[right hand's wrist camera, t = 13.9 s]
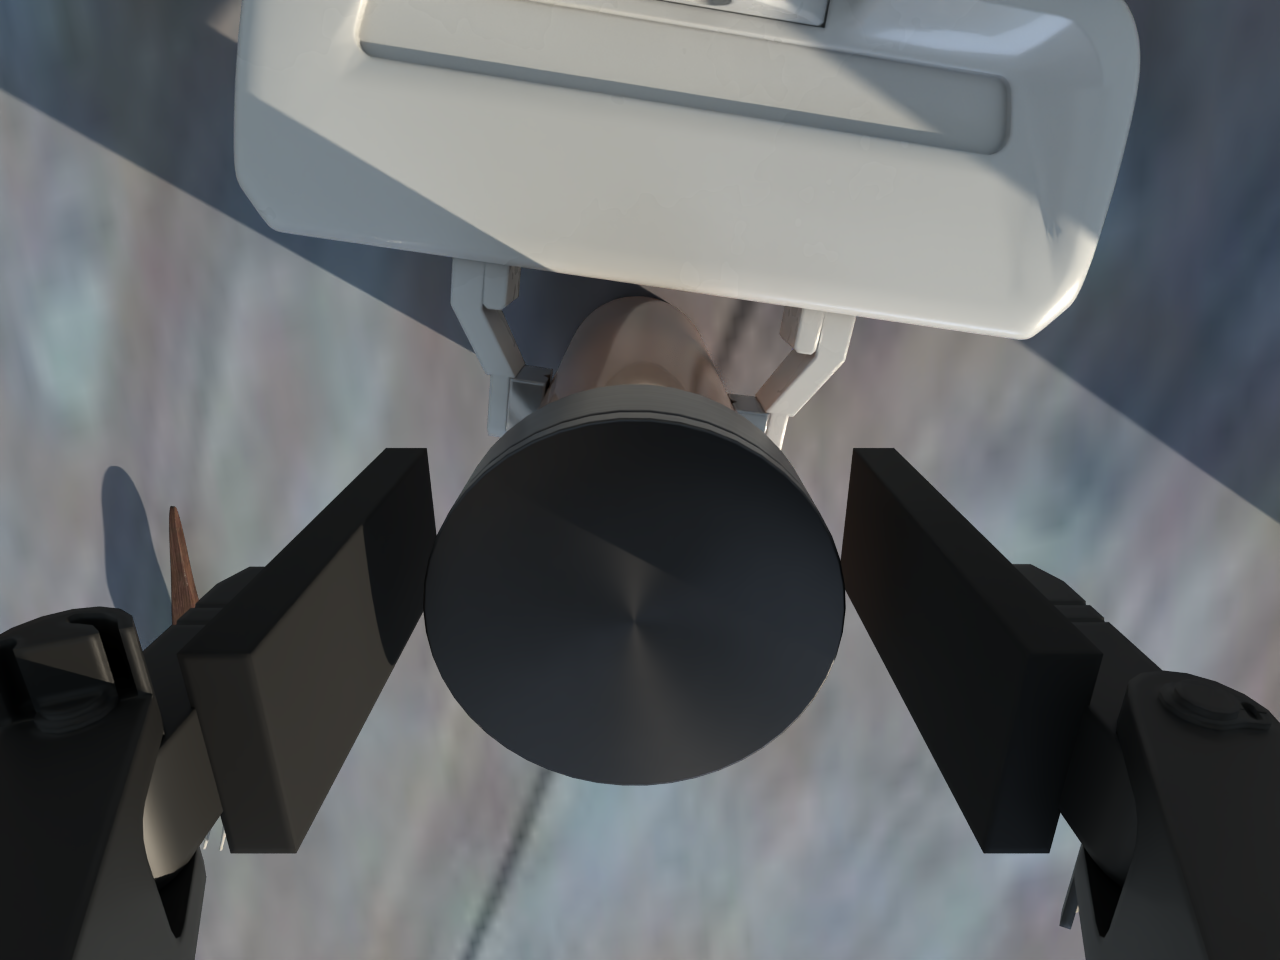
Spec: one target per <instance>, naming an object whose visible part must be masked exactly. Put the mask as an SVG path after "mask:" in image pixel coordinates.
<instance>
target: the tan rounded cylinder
mask: <svg viewBox="0 0 1280 960" xmlns="http://www.w3.org/2000/svg"><path fill="white" fill-rule="evenodd" d="M622 384H643V385H656V386H663V387H671V388H676V389H680V390H684V391H687V392H691V393H695V394H699V395H701V396H703V397H706V398H708V399H711V400H713V401H716V402H718V403H720V404H723V405H724V406H726V407H728V408H730V409H731V410H733V411H735V410H734V408H733V406H732V404H731V401H730V399H729V397H728V395H727V393H726V391H725V388H724V386H723V384H722V382H721V380H720V377H719V375H718V373H717V371H716V369H715V367H714V364H713V362H712V360H711V358H710V356H709V354H708V351H707V349H706V347H705V345H704V343H703V341H702V338H701V336H700V334H699V333H698V331H697V329H696V327H695V326H694V325H693V323H692V322H691V321H690V320H689V319H688V318H687V317H686V315H685V314H683V313H682V312H681V311H680V310H678V309H677V308H675V307H674V306H672V305H670V304H669V303H666V302H664V301H662V300H659V299H655V298H651V297H644V296H630V297H622V298H619V299H615V300H612V301H610V302H608V303H605V304H604V305H602V306H600V307H598V308H597V309H596V310H594V311H593V312H592V313H591V314H589V315H588V316H587V317H586V319H585V320H584V321H583V322H582V323H581V325H580V326H579V327H578V329H577V331H576V332H575V334H574V336H573V338H572V340H571V342H570V344H569V346H568V348H567V351H566V353H565V355H564V357H563V359H562V361H561V363H560V365H559V367H558V369H557V371H556V373H555V375H554V377H553V379H552V381H551V384H550V386H549V388H548V390H547V392H546V394H545V396H544V398H543V400H542V402H541V404H540V406H539V408H538V409H540V408H542V407H543V406H545V405H547V404H549V403H551V402H554V401H556V400H559V399H561V398H564V397H566V396H569V395H571V394H574V393H578V392H582V391H586V390H590V389H594V388H598V387H606V386H614V385H622Z"/></svg>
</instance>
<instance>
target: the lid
mask: <svg viewBox="0 0 1280 960" xmlns="http://www.w3.org/2000/svg"><path fill="white" fill-rule="evenodd" d="M845 609H846V605H845V582H844V577H843V572H842V566H841V561H840V558H839V555H838V552H837V549H836V546H835V543H834V540H833V538H832V535H831V533H830V531H829V530H828V528H827V526H826V524H825V522H824V520H823V518H822V516H821V514H820V513H819V511H818V509H817V507H816V506H815V504H814V502H813V501H812V499H811V497H810V495H809V494H808V492H807V490H806V489H805V487H804V485H803V483H802V482H801V480H800V478H799V476H798V475H797V473H796V471H795V470H794V468H793V466H792V465H791V464H790V462H789V461H788V460H787V458H786V457H785V455H784V454H783V453H782V451H781V450H780V449H779V448H778V447H777V446H776V445H775V443H774V442H773V441H772V440H771V439H770V438H769V437H768V436H767V435H766V434H765V433H764V432H763V431H762V430H760V429H759V428H758V427H756V426H755V425H754V424H752V423H751V422H750V421H749V420H747V419H746V418H745V417H743V416H742V415H740V414H738V413H737V412H735V411H733V410H731V409H730V408H728V407H726V406H724V405H723V404H720V403H718V402H716V401H713V400H711V399H708V398H706V397H703V396H701V395H699V394H695V393H691V392H687V391H684V390H680V389H676V388H671V387H663V386H656V385H643V384H622V385H614V386H606V387H598V388H594V389H590V390H586V391H582V392H578V393H574V394H571V395H569V396H566V397H564V398H561V399H559V400H556V401H554V402H551V403H549V404H547V405H545V406H543V407H542V408H540V409H538V410H536V411H535V412H533V413H531V414H529V415H528V416H526V417H525V418H524V419H522V420H521V421H520V422H518V423H517V424H516V425H514V426H513V427H512V428H511V429H509V430H508V431H507V432H506V433H505V434H504V435H503V436H502V437H501V438H500V439H499V440H498V441H497V442H496V443H495V444H494V445H493V446H492V447H491V448H490V450H489V451H488V452H487V454H486V455H485V456H484V458H483V459H482V460H481V462H480V463H479V465H478V466H477V467H476V469H475V471H474V472H473V474H472V476H471V477H470V479H469V481H468V482H467V484H466V485H465V487H464V489H463V490H462V492H461V494H460V495H459V497H458V499H457V500H456V502H455V504H454V505H453V507H452V508H451V510H450V512H449V513H448V515H447V517H446V519H445V521H444V523H443V525H442V527H441V528H440V530H439V532H438V534H437V536H436V539H435V542H434V545H433V548H432V550H431V553H430V556H429V559H428V564H427V570H426V575H425V580H424V596H423V611H424V619H425V628H426V634H427V637H428V641H429V645H430V648H431V652H432V656H433V658H434V660H435V663H436V665H437V667H438V670H439V672H440V674H441V676H442V678H443V680H444V682H445V683H446V685H447V687H448V688H449V690H450V692H451V693H452V695H453V696H454V698H455V699H456V701H457V702H458V703H459V704H460V705H461V707H462V708H463V709H464V710H465V712H466V713H467V714H468V715H469V717H470V718H471V719H473V720H474V721H475V722H476V723H477V724H478V725H479V726H480V727H481V728H482V729H483V730H484V731H485V732H486V733H487V734H488V735H490V736H491V737H492V738H494V739H495V740H496V741H498V742H499V743H500V744H502V745H503V746H504V747H506V748H507V749H509V750H511V751H512V752H514V753H516V754H518V755H519V756H521V757H523V758H524V759H526V760H528V761H530V762H532V763H535V764H537V765H539V766H541V767H544V768H546V769H548V770H551V771H554V772H557V773H560V774H563V775H566V776H569V777H572V778H577V779H582V780H586V781H591V782H596V783H604V784H614V785H656V784H666V783H673V782H678V781H683V780H688V779H693V778H697V777H700V776H703V775H706V774H709V773H713V772H716V771H719V770H721V769H723V768H726V767H728V766H730V765H732V764H735V763H737V762H739V761H741V760H743V759H745V758H747V757H748V756H750V755H752V754H753V753H755V752H757V751H759V750H760V749H762V748H764V747H765V746H766V745H768V744H769V743H770V742H771V741H773V740H774V739H775V738H777V737H778V736H779V735H781V734H782V733H783V732H784V731H785V730H786V729H787V728H788V727H789V726H790V725H791V724H793V723H794V722H795V721H796V720H797V719H798V718H799V717H800V716H801V714H802V713H803V712H804V711H805V709H806V708H807V707H808V706H809V704H810V703H811V702H812V701H813V699H814V698H815V697H816V695H817V693H818V692H819V690H820V688H821V687H822V685H823V683H824V682H825V680H826V678H827V676H828V674H829V672H830V669H831V667H832V665H833V663H834V660H835V658H836V655H837V652H838V648H839V644H840V641H841V637H842V633H843V626H844V618H845Z"/></svg>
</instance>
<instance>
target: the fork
mask: <svg viewBox="0 0 1280 960" xmlns="http://www.w3.org/2000/svg"><path fill="white" fill-rule="evenodd" d="M169 538H170V563H171V599H172V625H176V624H177V620H178V619H179V618H180V617H181V616H182V615H183V614H184V613H186V612H187V611H188V610H189V609H190V608H195V603H197V602H198V601H199V599H198V595H197V591H196V588H195V584H194V580H193V575H192V571H191V566H190V562H189V557H188V552H187V547H186V542H185V538H184V533H183V529H182V525H181V521H180V517H179V514H178V511H177V509H176V507H174V506H171V507H170V513H169ZM210 831H211V830H210ZM210 831H209V833H208V834H207V835H206V837H205V841H204V846H203V849H205V848H206V846H207V842H208V838H209V834H210ZM225 836H226V834H225V830H224V827H223V830H222V837H221V843H220V848H219V850H220V851H221V850H222V849H223V844H224V840H225Z"/></svg>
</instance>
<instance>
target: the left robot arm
mask: <svg viewBox="0 0 1280 960" xmlns="http://www.w3.org/2000/svg"><path fill="white" fill-rule="evenodd" d="M1139 75H1140V44H1139V35H1138V31H1137V27H1136V24H1135V20H1134V17H1133V15H1132V13H1131V11H1130V9H1129V7H1128V5H1127V4H1126V2H1125V1H1124V0H242V6H241V15H240V24H239V34H238V47H237V61H236V76H235V100H234V166H235V172H236V177H237V180H238V183H239V185H240V187H241V189H242V190H243V191H244V193H245V194H246V196H247V197H248V198H249V200H250V201H251V203H252V204H253V206H254V207H255V209H256V210H257V211H258V213H259V214H260V216H261V217H262V218H263V219H264V221H265V222H266V223H267V224H268V226H270V227H271V228H272V229H274V230H276V231H279V232H283V233H290V234H296V235H303V236H310V237H316V238H323V239H330V240H337V241H344V242H351V243H358V244H365V245H371V246H378V247H385V248H392V249H399V250H406V251H413V252H420V253H426V254H433V255H440V256H447V257H453V260H452V281H451V303H450V304H451V306H452V308H453V310H454V312H455V314H456V316H457V318H458V320H459V322H460V324H461V326H462V328H463V330H464V332H465V334H466V336H467V338H468V340H469V342H470V344H471V346H472V348H473V350H474V352H475V354H476V356H477V358H478V360H479V362H480V364H481V366H482V368H483V370H484V372H485V374H488V375H491V377H490V392H489V407H488V422H487V430H488V435H490V436H495V437H500V438H501V437H502V436H503V435H504V434H505V433H506V432H507V431H508V430H509V429H511V428H512V427H513V426H514V425H516V424H517V423H518V422H520V421H521V420H522V419H524V418H525V417H526V416H528V415H529V414H531V413H533V412H535V411H536V410H538V408H539V406H540V404H541V402H542V400H543V398H544V396H545V394H546V392H547V390H548V388H549V386H550V384H551V381H552V374H553V369H548V368H542V367H536V366H529V365H524V364H525V362H524V360H523V358H522V355H521V353H520V351H519V349H518V346H517V344H516V342H515V339H514V337H513V335H512V333H511V330H510V328H509V326H508V323H507V321H506V319H505V317H504V314H503V312H502V309H504V308H505V307H506V306H507V305H509V304H510V303H511V302H513V301H514V300H515V299H516V298H518V296H519V285H520V274H521V267H523V268H529V269H536V270H543V271H550V272H557V273H564V274H571V275H578V276H584V277H591V278H598V279H605V280H612V281H619V282H626V283H633V284H639V285H646V286H653V287H660V288H667V289H674V290H681V291H687V292H694V293H701V294H708V295H715V296H722V297H729V298H736V299H742V300H749V301H756V302H763V303H770V304H777V305H784V306H785V308H784V313H783V319H782V324H781V329H780V336H781V337H782V339H783V340H784V341H786V342H787V343H788V344H789V345H790V346H791V347H792V348H793V350H792V351H791V352H790V353H789V355H788V356H787V357H786V358H785V360H784V361H783V362H782V363H781V364H780V366H779V367H778V368H777V369H776V370H775V372H774V373H773V374H772V375H771V376H770V378H769V379H768V380H767V381H766V383H765V384H764V385H763V386H762V387H761V389H760V390H759V391H758V392H757V393H756V395H755V396H756V397H754V396H745V395H736V394H727V395H728V397H729V399H730V401H731V404H732V406H733V408H734V410H735V412H737V413H738V414H740V415H742V416H743V417H745V418H746V419H747V420H749V421H750V422H751V423H752V424H754V425H755V426H756V427H758V428H759V429H760V430H762V431H763V432H764V433H765V434H766V435H767V436H768V437H769V438H770V439H771V440H772V441H773V442H774V443H775V445H776V446H777V447H778V448H779V449H780V450H781V448H782V443H783V439H784V434H785V430H786V425H787V421H788V416H794V415H795V414H796V413H797V412H798V411H799V410H800V409H801V408H802V407H803V405H804V404H805V403H806V402H807V401H808V400H809V399H810V398H811V397H812V396H813V395H814V394H815V393H816V392H817V390H818V389H819V388H820V387H821V386H822V385H823V384H824V383H825V382H826V381H827V380H828V379H829V378H830V376H831V375H832V374H833V373H834V372H835V371H836V370H837V369H838V368H839V367H840V366H841V365H842V364H843V362H844V361H845V359H846V355H847V351H848V347H849V343H850V339H851V335H852V331H853V327H854V323H855V319H856V316H859V317H866V318H873V319H880V320H887V321H894V322H900V323H907V324H914V325H921V326H928V327H935V328H942V329H949V330H955V331H962V332H969V333H976V334H983V335H990V336H997V337H1004V338H1011V339H1018V340H1023V339H1029V338H1031V337H1033V336H1034V335H1036V334H1037V333H1038V332H1040V331H1041V330H1042V329H1044V328H1045V327H1046V326H1047V325H1049V324H1050V323H1051V322H1052V321H1053V320H1055V319H1056V318H1057V317H1058V316H1059V315H1060V314H1061V313H1063V312H1064V311H1065V310H1066V309H1067V308H1068V307H1069V306H1070V305H1071V304H1072V303H1073V301H1074V300H1075V299H1076V297H1077V295H1078V293H1079V291H1080V289H1081V287H1082V285H1083V283H1084V280H1085V277H1086V275H1087V272H1088V270H1089V267H1090V264H1091V262H1092V259H1093V256H1094V253H1095V250H1096V247H1097V243H1098V240H1099V237H1100V234H1101V231H1102V228H1103V225H1104V222H1105V219H1106V215H1107V212H1108V209H1109V205H1110V202H1111V199H1112V195H1113V192H1114V188H1115V184H1116V181H1117V177H1118V173H1119V169H1120V166H1121V162H1122V158H1123V155H1124V151H1125V146H1126V142H1127V138H1128V134H1129V130H1130V125H1131V121H1132V116H1133V112H1134V107H1135V102H1136V97H1137V91H1138V84H1139Z"/></svg>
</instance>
